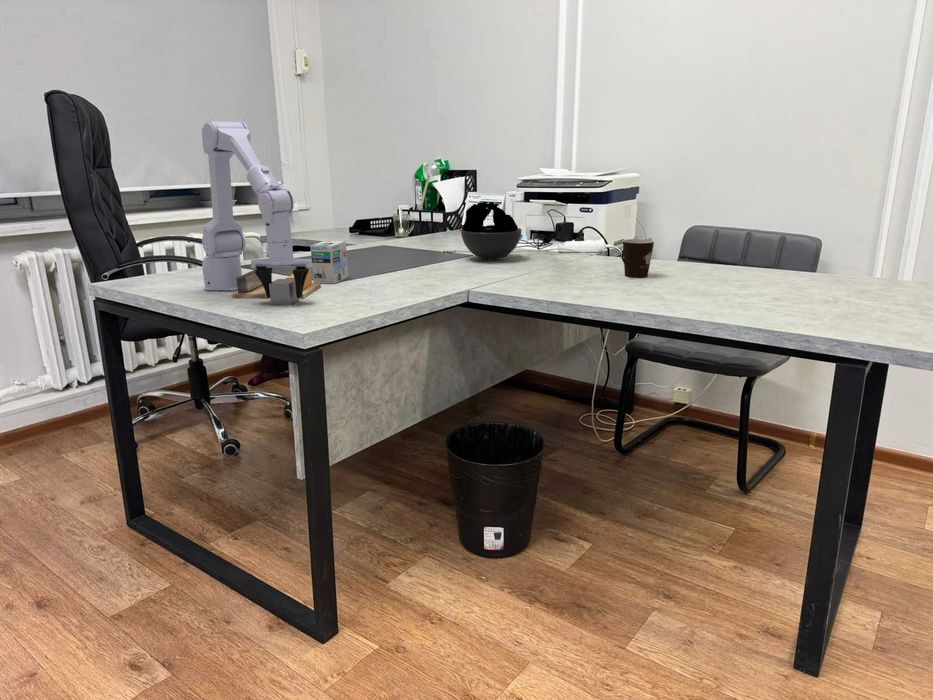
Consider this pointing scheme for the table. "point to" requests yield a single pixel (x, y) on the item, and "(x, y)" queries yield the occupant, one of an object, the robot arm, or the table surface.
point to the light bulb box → (329, 262)
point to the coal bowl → (489, 232)
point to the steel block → (283, 292)
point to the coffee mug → (637, 257)
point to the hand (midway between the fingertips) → (284, 297)
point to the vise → (260, 287)
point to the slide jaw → (307, 281)
